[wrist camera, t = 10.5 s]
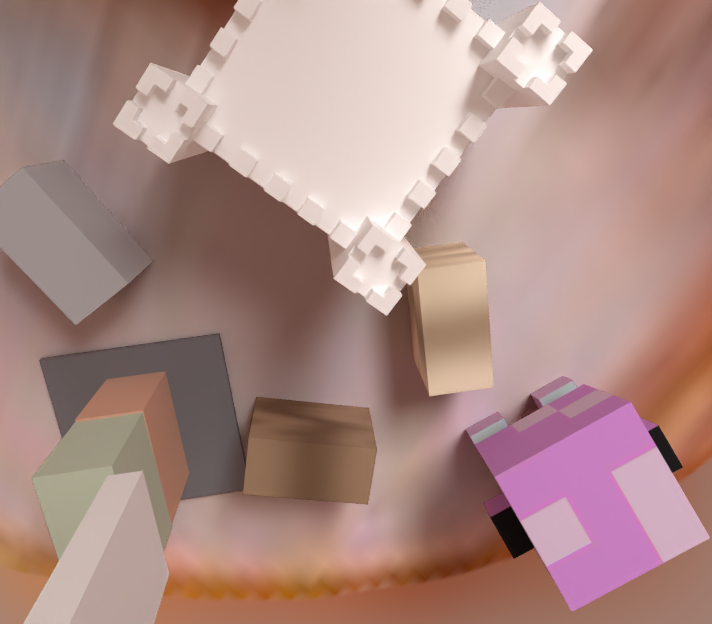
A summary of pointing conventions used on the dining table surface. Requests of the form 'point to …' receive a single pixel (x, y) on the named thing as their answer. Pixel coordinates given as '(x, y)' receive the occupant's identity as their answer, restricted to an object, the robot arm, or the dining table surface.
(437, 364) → the maple brick
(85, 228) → the grey brick
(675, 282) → the dining table surface
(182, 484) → the terracotta brick
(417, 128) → the castle model
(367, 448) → the walnut brick
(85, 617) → the robot arm
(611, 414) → the toy
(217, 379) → the felt mat
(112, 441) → the sage brick
